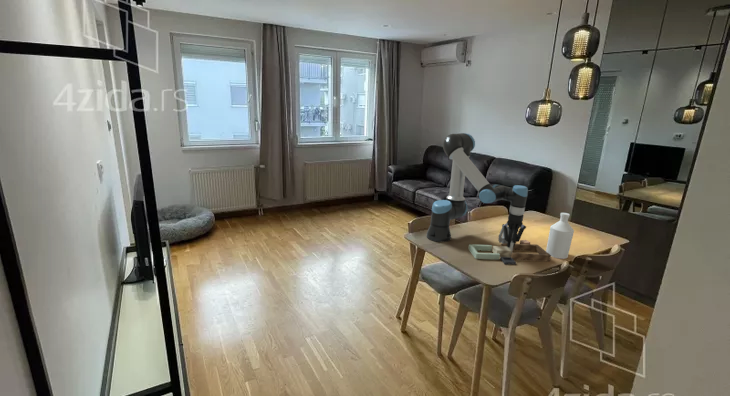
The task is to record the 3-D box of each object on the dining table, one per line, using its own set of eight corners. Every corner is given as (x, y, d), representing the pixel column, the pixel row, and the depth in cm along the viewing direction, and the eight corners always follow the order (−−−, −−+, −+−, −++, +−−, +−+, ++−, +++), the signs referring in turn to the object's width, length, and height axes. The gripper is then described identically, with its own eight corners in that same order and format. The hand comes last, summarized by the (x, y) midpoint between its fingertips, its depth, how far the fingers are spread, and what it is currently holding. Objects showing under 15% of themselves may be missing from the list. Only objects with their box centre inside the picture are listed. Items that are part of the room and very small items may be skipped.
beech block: (496, 256, 195) (497, 250, 194) (492, 252, 201) (493, 245, 200) (510, 257, 196) (511, 250, 195) (505, 252, 202) (506, 246, 200)
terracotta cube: (523, 249, 208) (524, 242, 207) (519, 246, 212) (520, 240, 211) (529, 248, 209) (530, 242, 208) (524, 245, 213) (525, 239, 212)
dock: (475, 258, 192) (476, 253, 191) (468, 249, 204) (468, 244, 203) (499, 259, 192) (500, 254, 191) (490, 249, 204) (491, 245, 204)
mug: (516, 244, 214) (519, 226, 211) (502, 247, 209) (505, 228, 206) (506, 239, 221) (509, 222, 218) (493, 242, 216) (495, 224, 212)
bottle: (573, 257, 198) (582, 216, 192) (556, 259, 195) (565, 217, 188) (556, 249, 209) (565, 210, 203) (540, 251, 206) (548, 211, 199)
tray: (504, 264, 187) (504, 261, 186) (500, 259, 192) (500, 256, 192) (515, 264, 187) (515, 262, 187) (510, 259, 193) (511, 257, 192)
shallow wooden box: (511, 259, 192) (512, 254, 191) (500, 248, 207) (501, 243, 206) (549, 261, 193) (550, 255, 192) (536, 249, 207) (537, 244, 206)
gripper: (524, 211, 196) (517, 250, 202) (502, 210, 195) (495, 249, 202) (531, 216, 188) (523, 255, 195) (507, 215, 188) (501, 255, 194)
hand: (509, 252), depth 198 cm, fingers closed
